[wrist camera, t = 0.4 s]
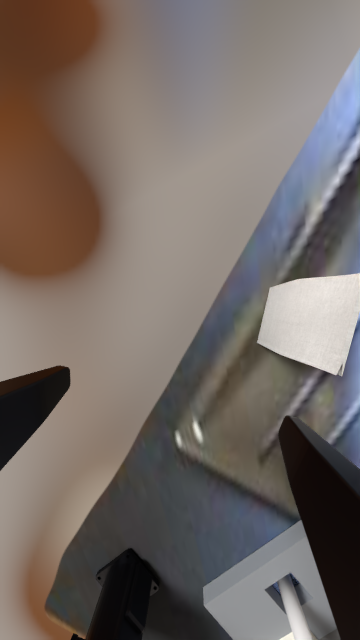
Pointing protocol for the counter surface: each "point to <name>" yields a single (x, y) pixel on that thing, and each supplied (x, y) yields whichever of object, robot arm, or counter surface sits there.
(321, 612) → the hook board
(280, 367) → the counter surface
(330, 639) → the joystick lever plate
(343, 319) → the white gabled carton
